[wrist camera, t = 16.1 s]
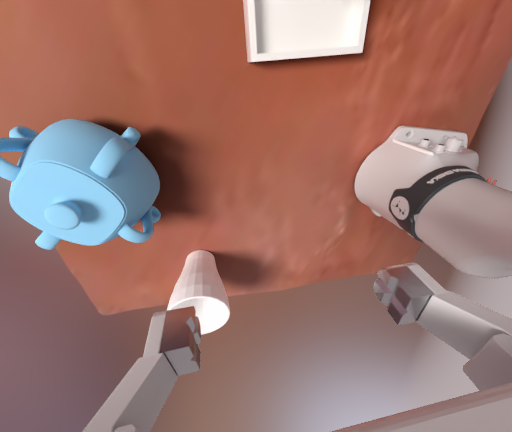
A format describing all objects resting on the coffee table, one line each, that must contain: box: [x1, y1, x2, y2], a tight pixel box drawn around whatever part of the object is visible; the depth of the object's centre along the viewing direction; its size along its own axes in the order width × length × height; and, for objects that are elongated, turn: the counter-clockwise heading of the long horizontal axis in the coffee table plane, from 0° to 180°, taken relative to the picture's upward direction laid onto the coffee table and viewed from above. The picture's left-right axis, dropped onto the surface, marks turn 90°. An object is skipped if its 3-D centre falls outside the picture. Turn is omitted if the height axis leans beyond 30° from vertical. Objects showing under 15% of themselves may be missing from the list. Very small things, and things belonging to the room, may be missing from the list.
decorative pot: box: [0, 119, 161, 250], centre depth 30 cm, size 16×16×14 cm
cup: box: [167, 250, 230, 334], centre depth 43 cm, size 10×10×14 cm
